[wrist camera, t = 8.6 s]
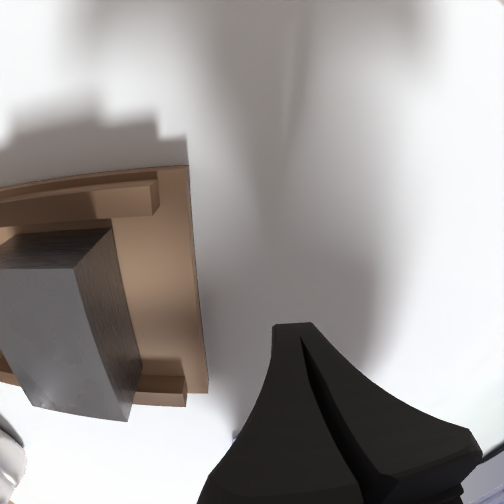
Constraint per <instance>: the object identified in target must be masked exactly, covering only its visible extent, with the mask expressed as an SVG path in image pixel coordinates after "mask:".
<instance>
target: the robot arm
mask: <svg viewBox="0 0 504 504" xmlns="http://www.w3.org/2000/svg"><path fill="white" fill-rule="evenodd" d="M482 455H483V453H482V450H481V448H480V447H479V445H478V443H477V441H476V440H475V438H474V436H473V435H472V433H471V432H470V430H469V429H467V428H464V427H461V426H458V425H455V424H452V423H449V422H446V421H443V420H440V419H438V418H435V417H433V416H431V415H428V414H426V413H424V412H422V411H420V410H418V409H416V408H414V407H412V406H410V405H408V404H406V403H404V402H403V401H401V400H399V399H397V398H396V397H394V396H392V395H391V394H389V393H388V392H386V391H385V390H383V389H382V388H381V387H379V386H378V385H376V384H375V383H373V382H372V381H371V380H369V379H368V378H367V377H366V376H364V375H363V374H362V373H361V372H360V371H359V370H357V369H356V368H355V367H354V366H353V365H352V364H351V363H350V362H349V361H348V360H347V359H346V358H344V357H343V356H342V355H341V354H340V353H339V352H338V351H337V350H336V349H335V348H334V346H333V345H332V344H331V343H330V342H329V341H328V340H327V339H326V338H325V337H324V336H323V335H322V333H321V332H320V331H319V330H318V329H317V328H316V327H315V326H314V325H313V324H312V323H311V322H307V323H291V324H276V325H274V326H273V327H272V349H271V360H270V364H269V368H268V371H267V375H266V378H265V381H264V384H263V387H262V389H261V392H260V394H259V397H258V399H257V401H256V404H255V406H254V408H253V410H252V412H251V414H250V416H249V418H248V420H247V422H246V423H245V425H244V427H243V429H242V430H241V432H240V433H239V435H238V436H237V438H235V439H234V440H233V444H232V446H231V447H230V449H229V450H228V451H227V453H226V454H225V456H224V457H223V458H222V459H221V461H220V462H219V463H218V464H217V466H216V467H215V468H214V469H213V470H212V472H211V473H210V474H209V475H208V478H207V480H206V482H205V485H204V487H203V489H202V491H201V494H200V496H199V499H198V501H197V504H463V502H462V500H461V498H460V495H462V494H463V493H464V490H463V488H462V486H461V482H462V481H463V480H464V479H465V478H466V477H467V476H468V475H469V474H470V473H471V472H472V470H474V469H475V467H476V466H477V465H478V464H479V462H480V460H481V458H482ZM0 504H3V503H0ZM469 504H504V484H503V485H501V486H499V487H498V488H496V489H494V490H492V491H491V492H489V493H487V494H485V495H484V496H482V497H480V498H478V499H476V500H474V501H473V502H471V503H469Z"/></svg>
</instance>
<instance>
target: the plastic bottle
mask: <svg viewBox="0 0 504 504" xmlns="http://www.w3.org/2000/svg"><path fill="white" fill-rule="evenodd" d="M26 464H27V459H26V454H25V451H24V450H23V448H22V447H21V446H20V445H19V444H18V443H17V442H16V441H15V440H14V439H13V438H12V437H10V436H9V435H8V434H6V433H5V432H4V431H2V430H1V429H0V503H3V504H7V503H8V501H9V499H10V497H11V495H12V493H13V491H14V488H15V487H17V485H18V484H19V482H20V481H21V479H22V477H23V476H24V474H25V470H26Z"/></svg>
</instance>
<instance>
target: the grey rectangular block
mask: <svg viewBox="0 0 504 504" xmlns="http://www.w3.org/2000/svg"><path fill="white" fill-rule="evenodd" d="M0 348H1V350H2V353H3V354H4V356H5V358H6V360H7V362H8V364H9V366H10V368H11V370H12V372H13V373H14V375H15V377H16V379H17V381H18V382H19V384H20V386H21V388H22V389H23V391H24V393H25V394H26V396H27V398H28V399H29V401H30V402H31V404H32V406H36V407H40V408H45V409H49V410H54V411H59V412H64V413H69V414H74V415H80V416H86V417H93V418H99V419H106V420H114V421H123V422H128V418H129V414H130V410H131V407H132V403H133V399H134V396H135V392H136V389H137V385H138V382H139V378H140V375H141V371H142V368H143V365H142V361H141V358H140V354H139V351H138V347H137V343H136V340H135V336H134V332H133V328H132V324H131V320H130V316H129V312H128V308H127V303H126V299H125V294H124V290H123V285H122V280H121V275H120V270H119V265H118V260H117V254H116V249H115V243H114V237H113V231H112V228H97V229H81V230H65V231H51V232H37V233H24V234H16V235H14V236H13V237H11V238H10V239H8V240H7V241H6V242H4V243H3V244H1V245H0Z"/></svg>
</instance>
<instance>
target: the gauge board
mask: <svg viewBox="0 0 504 504" xmlns="http://www.w3.org/2000/svg"><path fill="white" fill-rule="evenodd" d="M97 228H112V231H113V237H114V243H115V249H116V254H117V260H118V265H119V270H120V275H121V280H122V285H123V290H124V294H125V299H126V303H127V308H128V312H129V316H130V320H131V324H132V328H133V332H134V336H135V340H136V343H137V347H138V351H139V354H140V358H141V361H142V365H143V368H142V371H141V375H140V378H139V382H138V385H137V389H136V392H135V396H134V399H133V403H132V404H139V405H153V406H172V407H186V400H187V393H208V383H209V378H208V371H207V363H206V356H205V348H204V340H203V331H202V323H201V314H200V305H199V295H198V285H197V275H196V264H195V252H194V240H193V227H192V213H191V197H190V180H189V165H180V166H165V167H151V168H139V169H128V170H118V171H109V172H100V173H92V174H84V175H76V176H69V177H62V178H55V179H48V180H42V181H36V182H30V183H24V184H19V185H13V186H8V187H3V188H0V245H1V244H3V243H4V242H6V241H7V240H8V239H10V238H11V237H13V236H14V235H16V234H24V233H37V232H51V231H65V230H81V229H97ZM0 382H4V383H8V384H12V385H16V386H20V384H19V382H18V381H17V379H16V377H15V375H14V373H13V372H12V370H11V368H10V366H9V364H8V362H7V360H6V358H5V356H4V354H3V353H2V350H1V348H0ZM20 387H21V386H20Z"/></svg>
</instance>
